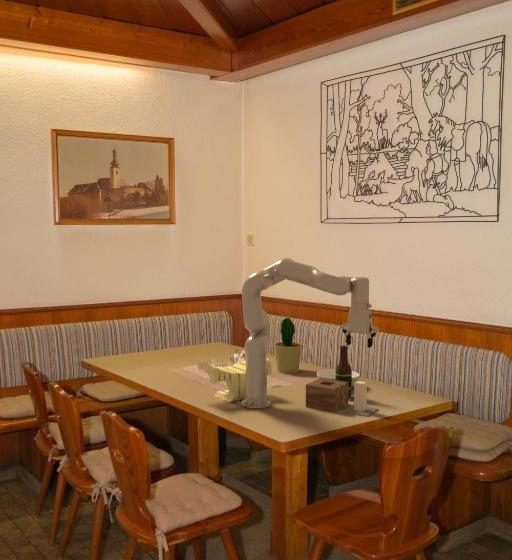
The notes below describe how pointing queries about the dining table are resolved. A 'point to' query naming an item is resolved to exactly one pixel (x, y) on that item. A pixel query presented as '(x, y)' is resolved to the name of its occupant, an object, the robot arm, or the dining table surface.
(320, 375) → the serving bowl
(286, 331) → the potted cactus
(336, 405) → the wooden square ring
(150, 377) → the dining table surface
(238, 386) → the slatted curved stool
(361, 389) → the square peg
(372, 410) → the rubber mat
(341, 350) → the beer bottle
